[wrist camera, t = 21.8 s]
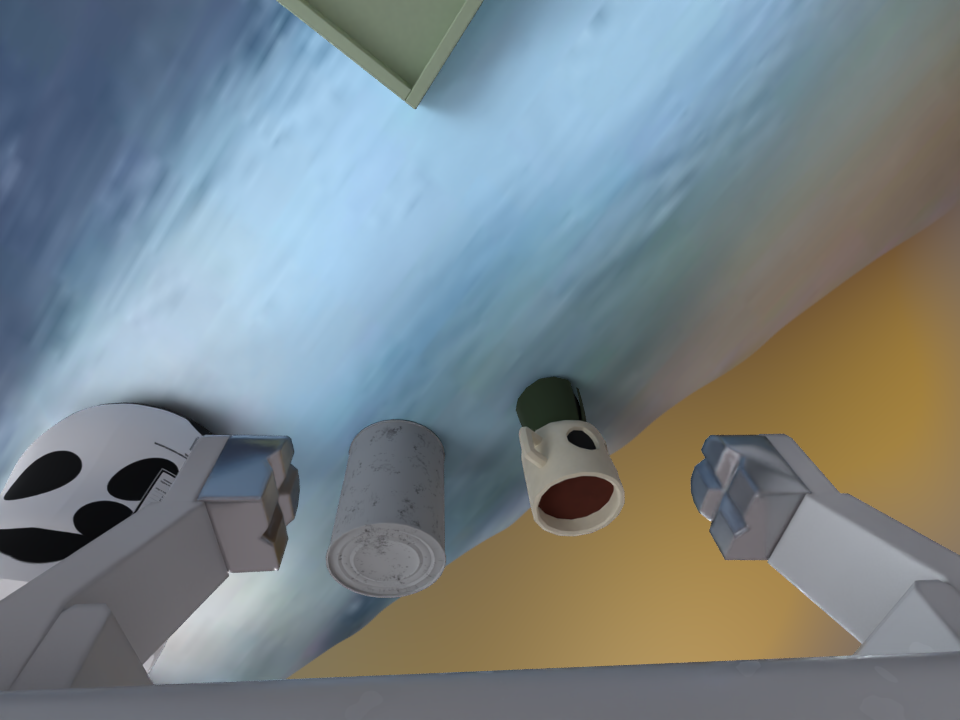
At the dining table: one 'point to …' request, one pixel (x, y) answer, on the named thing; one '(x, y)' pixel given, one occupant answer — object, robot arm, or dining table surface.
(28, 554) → the milk container
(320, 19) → the tray
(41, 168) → the dining table surface
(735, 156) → the dining table surface
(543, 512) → the character mug
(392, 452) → the grey tin can
